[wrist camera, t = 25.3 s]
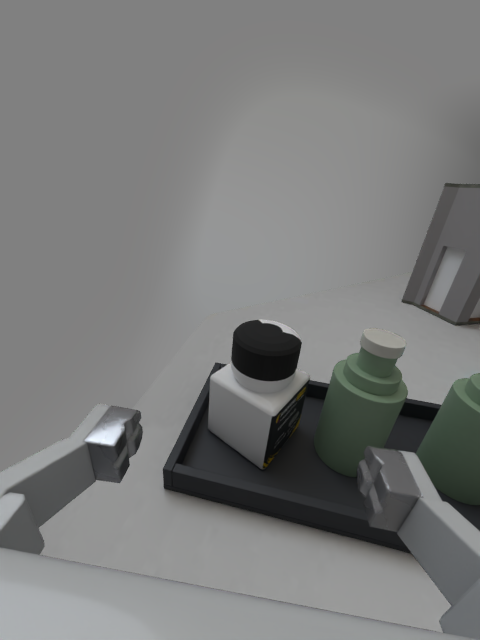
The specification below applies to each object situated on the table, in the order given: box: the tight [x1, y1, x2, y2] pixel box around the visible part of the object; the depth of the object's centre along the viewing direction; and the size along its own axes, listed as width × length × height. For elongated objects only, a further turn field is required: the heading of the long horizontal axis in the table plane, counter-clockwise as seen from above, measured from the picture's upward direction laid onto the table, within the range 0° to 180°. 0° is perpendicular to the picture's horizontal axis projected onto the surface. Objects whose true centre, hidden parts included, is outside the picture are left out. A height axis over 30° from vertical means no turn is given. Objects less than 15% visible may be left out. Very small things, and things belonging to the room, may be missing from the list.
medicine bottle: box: [208, 320, 310, 470], centre depth 26 cm, size 7×7×12 cm
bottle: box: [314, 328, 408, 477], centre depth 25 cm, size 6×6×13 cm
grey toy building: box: [402, 183, 480, 325], centre depth 58 cm, size 21×10×28 cm, turn 59°
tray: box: [163, 363, 480, 553], centre depth 27 cm, size 32×16×2 cm, turn 79°
